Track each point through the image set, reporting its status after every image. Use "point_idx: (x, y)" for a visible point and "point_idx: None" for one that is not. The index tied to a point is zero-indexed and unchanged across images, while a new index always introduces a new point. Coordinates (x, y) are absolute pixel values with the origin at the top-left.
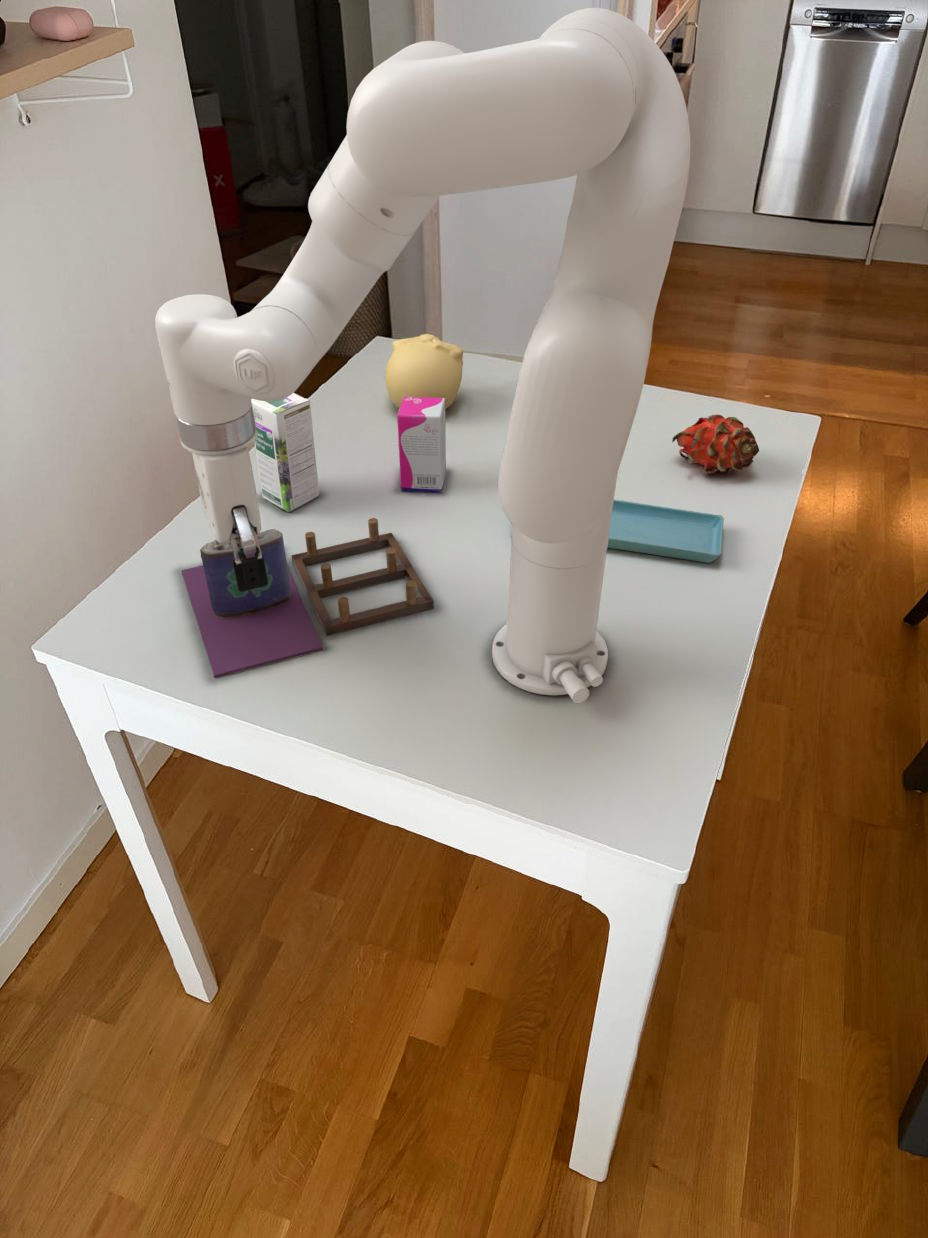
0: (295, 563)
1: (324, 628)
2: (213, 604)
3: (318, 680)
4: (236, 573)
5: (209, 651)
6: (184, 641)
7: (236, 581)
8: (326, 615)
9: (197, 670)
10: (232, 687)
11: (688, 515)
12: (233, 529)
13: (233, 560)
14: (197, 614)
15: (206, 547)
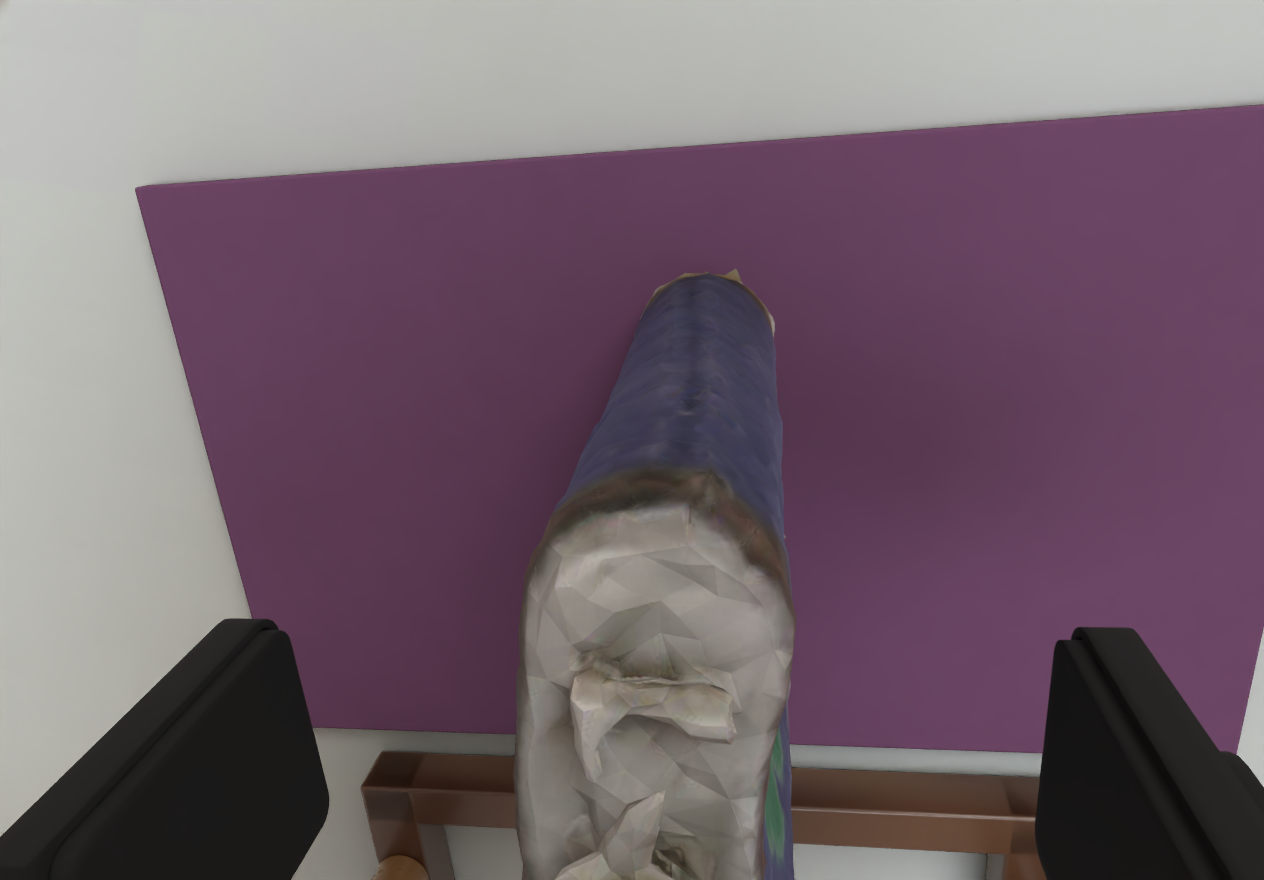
0: (973, 817)
1: (380, 776)
2: (659, 303)
3: (95, 644)
4: (99, 752)
5: (341, 189)
6: (512, 33)
7: (211, 663)
8: (452, 817)
9: (224, 90)
10: (72, 269)
11: None
12: (1084, 853)
13: (14, 875)
14: (735, 160)
15: (685, 576)
